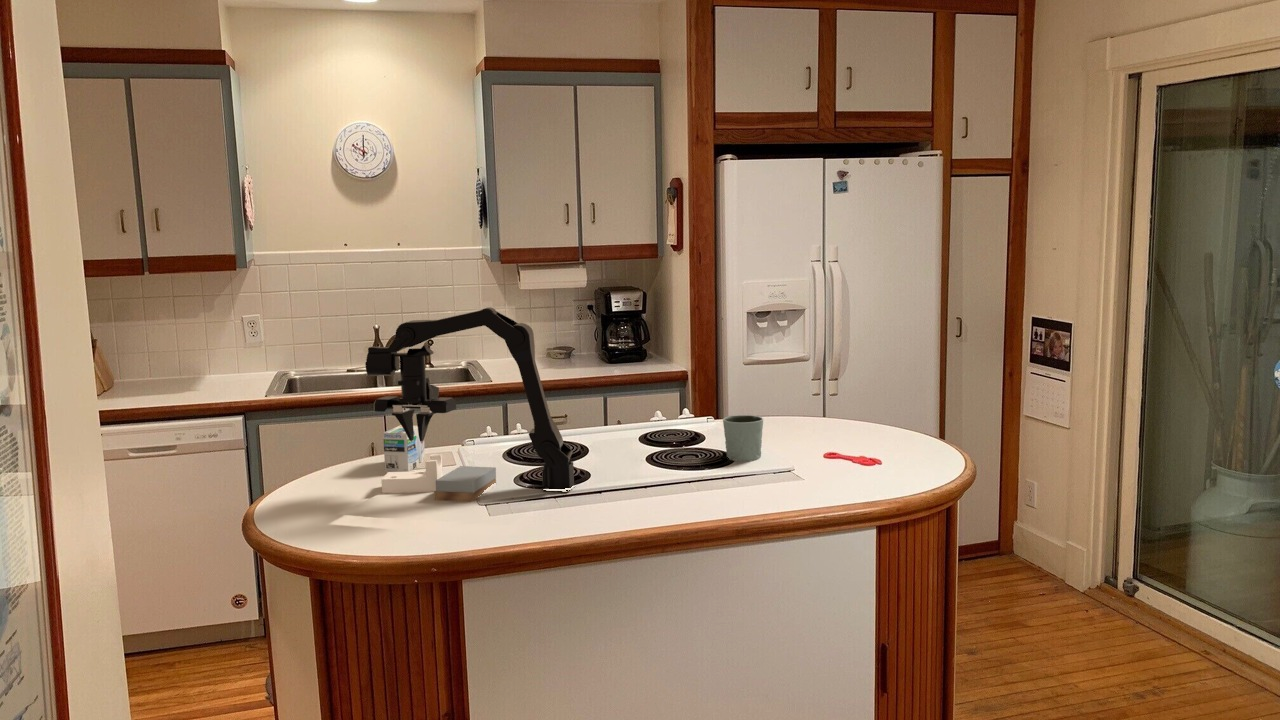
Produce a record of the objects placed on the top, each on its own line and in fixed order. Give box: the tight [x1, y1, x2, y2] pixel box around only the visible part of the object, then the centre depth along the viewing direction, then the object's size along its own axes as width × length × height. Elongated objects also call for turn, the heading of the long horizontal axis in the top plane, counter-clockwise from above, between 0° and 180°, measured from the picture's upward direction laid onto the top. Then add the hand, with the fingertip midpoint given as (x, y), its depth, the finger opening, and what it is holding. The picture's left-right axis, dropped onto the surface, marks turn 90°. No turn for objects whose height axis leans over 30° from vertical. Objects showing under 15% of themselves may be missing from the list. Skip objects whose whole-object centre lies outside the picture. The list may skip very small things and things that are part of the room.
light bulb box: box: [382, 424, 426, 473], centre depth 251 cm, size 11×7×11 cm, turn 168°
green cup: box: [722, 414, 764, 463], centre depth 249 cm, size 10×10×12 cm
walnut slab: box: [433, 477, 497, 503], centre depth 227 cm, size 9×14×2 cm, turn 165°
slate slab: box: [436, 465, 497, 493], centre depth 227 cm, size 9×14×2 cm, turn 167°
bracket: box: [381, 453, 444, 494], centre depth 232 cm, size 13×7×8 cm, turn 92°
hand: (416, 440), depth 229 cm, fingers closed
